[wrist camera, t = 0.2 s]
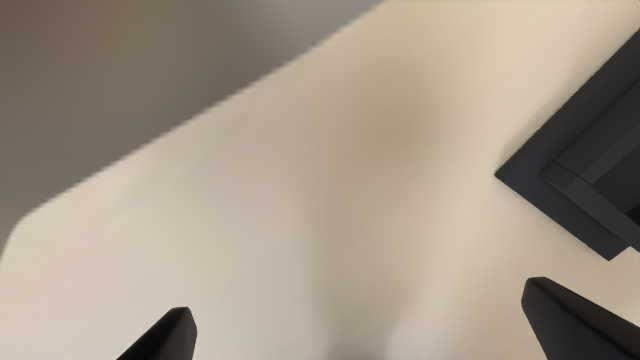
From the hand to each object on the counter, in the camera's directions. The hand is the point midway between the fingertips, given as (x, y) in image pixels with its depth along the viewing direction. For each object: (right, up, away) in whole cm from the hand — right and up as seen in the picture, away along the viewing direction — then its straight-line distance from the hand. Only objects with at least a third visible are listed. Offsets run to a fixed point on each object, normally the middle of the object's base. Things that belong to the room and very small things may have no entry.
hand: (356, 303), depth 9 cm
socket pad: (+21, +5, +14) cm, 26 cm away
